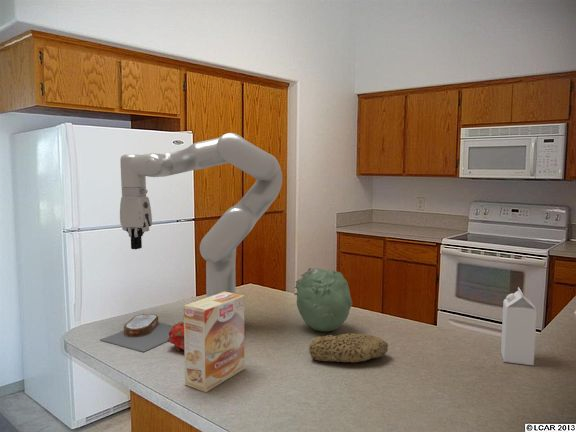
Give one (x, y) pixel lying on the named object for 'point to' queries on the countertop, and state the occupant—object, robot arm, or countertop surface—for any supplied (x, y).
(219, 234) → the robot arm
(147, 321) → the tin
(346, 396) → the countertop surface
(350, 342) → the sponge
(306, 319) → the cabbage
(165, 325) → the mat
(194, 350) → the coffeecake box
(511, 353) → the milk carton
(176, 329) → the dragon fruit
